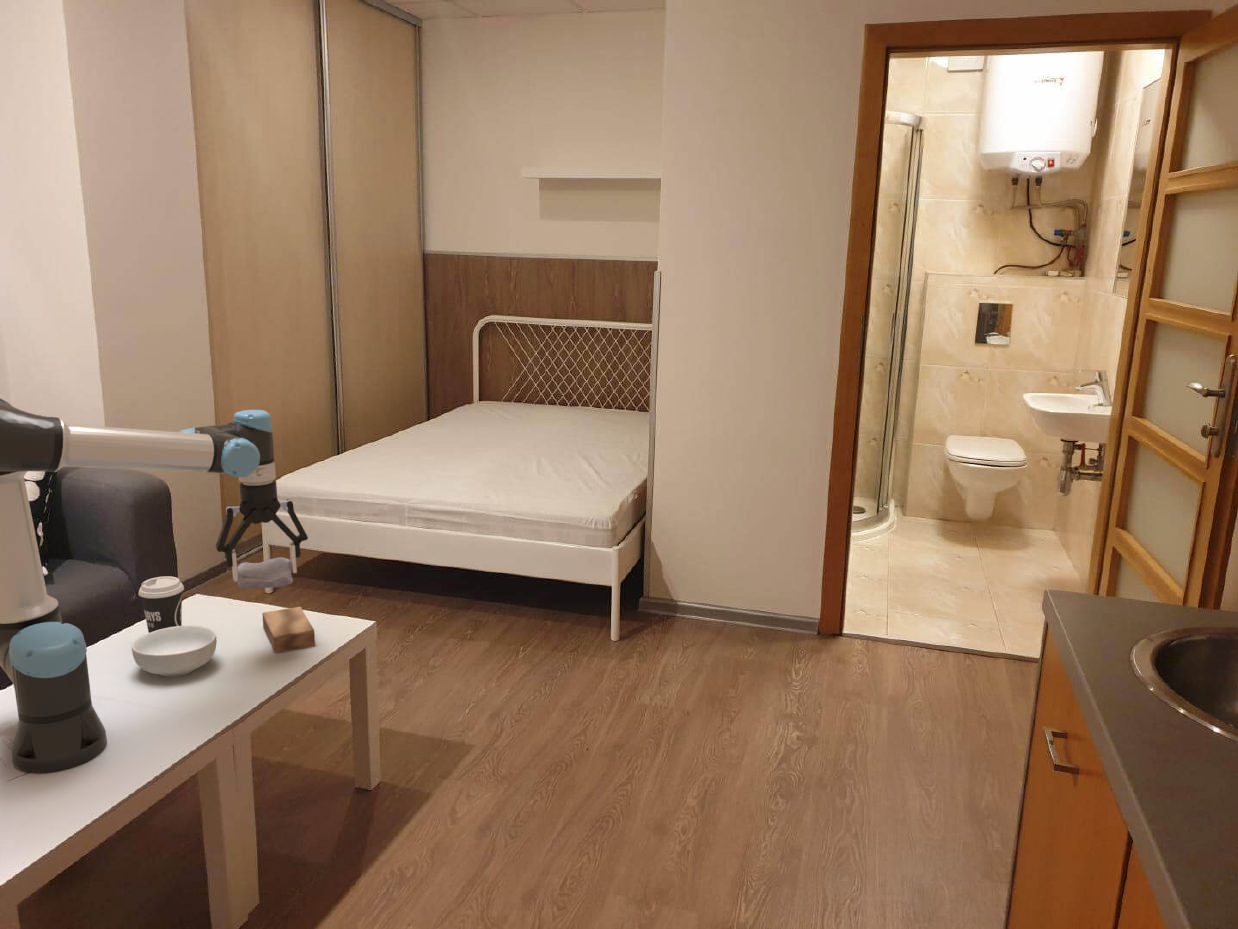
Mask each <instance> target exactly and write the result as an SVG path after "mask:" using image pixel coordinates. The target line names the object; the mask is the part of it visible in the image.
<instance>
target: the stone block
mask: <svg viewBox="0 0 1238 929" xmlns="http://www.w3.org/2000/svg"><path fill="white" fill-rule="evenodd" d="M237 573H238V581H237V582H236V583H237V586H238V588H242V589H246V588H247V589H252V588H258V589H260V588H261V589H263V588H265V589H269V588H282V587H285V586H288V585H290V584H292V583H293V581H294V579H293V577H292V576H293V575H292V570H291V559H290V558H286V557H282V556H281V557H279V556H278V557H275V558H270V559H266V560H264V561H261V562H247V561H245V562H242V563H240V564H238V565H237Z"/></svg>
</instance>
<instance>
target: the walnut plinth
mask: <svg viewBox="0 0 1238 929" xmlns="http://www.w3.org/2000/svg"><path fill="white" fill-rule="evenodd" d="M262 627H263V630H264V632H265V635H266V636H267V639H268V642H269V643H270V645H271V648H272V650H273V652H274V653H275V654H277V653H282V652H288V651H292V650H293V651H294V650H299V649H304V648H305V649H306V648H309V647H315V646H316V641H315V629H314V627H313V625H312V624H311V622H310V621H309V618H308V617H307V615H306V613H305V612H304V611H303V608H302V607H301V606H296V607H290V608H283V609H278V610H276V609H275V610H271V611H264V612H262Z"/></svg>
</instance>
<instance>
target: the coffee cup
mask: <svg viewBox="0 0 1238 929" xmlns="http://www.w3.org/2000/svg"><path fill="white" fill-rule="evenodd" d="M184 590H185V586H184V584H183V583H182V582H181V581H180V579H179V578H178V577H175V576H170V575H169V576H158V577H153V578H149V579H146V580H145V581H143V582H142V583H141V586H140V587H139V590H138V596H139V597H140V598H141V602H142V607H143V613H144V616H145V621H146V625H147V631H148V633H150V632H153V631H156V630H160V629H164V628H169V627H176V626H183V625H182V617H183V616H182V614H183V613H182V612H183V611H182V607H183V606H182V605H183V591H184Z"/></svg>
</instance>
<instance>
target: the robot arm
mask: <svg viewBox="0 0 1238 929" xmlns="http://www.w3.org/2000/svg"><path fill="white" fill-rule="evenodd" d="M273 433H274V429H273V423H272V417H271V414H270V413H269V412H268V411H267V410H263V409H246V410H244V409H243V410H241V411H240V410H239V411H236V412H235V413H234V414H233V422H230V423H224V424H215V425H206V426H197V427H196V426H192V428H186V429H180V430H179V431H167V430H154V429H153V430H152V429H151V430H150V429H140V428H127V427H111V426H102V425H101V426H99V425H87V424H86V425H83V424H71V423H66V422H65V421H64V420H63V419H62V418H61V417H57V416H45V415H39V414H35V413H31V412H28V411H24V410H21V409H19V408H17V407H16V406H15V407H14V406H13V405H12V404H10V403H9V402H8V401H7V400H4V399H2V398H0V667H1V668H2V670H3V671H4V673H5V675H7V677H8V678H9V680H10V681H11V682H12V684H13V688H14V694H15V700H16V701H15V702H16V707H17V708H16V709H17V716H18V723H17V727H16V731H15V734H14V738H13V742H12V747H11V758H12V764H13V766H14V767H15V768H16V769H18V770H20V771H23V772H26V773H33V774H34V773H36V774H37V773H39V774H40V773H50V772H58V771H62V770H66V769H69V768H74V767H77V766H80V765H82V764H84V763H86V762H88V761H90V760H92V759H93V758H95V757H97V755H100V753H101V752H103V751H104V749H105V747H106V746H107V743H108V739H107V731H106V727H105V726H104V724H103V722H102V721H101V718H100V717H99V715H98V714H97V712H96V710H95V708H94V707H93V704H92V692H91V685H90V684H91V683H90V675H89V668H88V658H87V651H88V650H87V648H88V647H87V644H86V641H85V638H84V634H83V632H82V631H81V629H80V628H78V627H77V626H76V625H73V624H72V623H67V622H64V623H63V621H62V620H63V619H62V616H61V611H60V606H59V601H58V600H57V599H56V598H55V597H52V596H51V595H48V593H47V587H46V582H45V577H44V573H43V568H42V562H41V557H40V552H39V547H38V542H37V536H36V530H35V525H34V521H33V516H32V511H31V510H32V509H31V506H30V501H29V496H28V491H27V486H26V480H25V475H26V474H27V473H28V472H43V473H44V472H45V473H46V472H47V473H48V472H49V473H50V472H51V473H56V472H58V471H59V470H61V469H62V468H65V467H67V468H68V467H70V468H71V467H72V468H92V469H93V468H94V469H114V470H117V469H118V470H119V469H120V470H141V471H144V470H146V471H165V472H166V471H168V472H187V473H188V472H189V473H190V472H193V473H210V474H226V475H228V476H230V477H233V478H238V480H239V482H240V484H239V495H240V496H239V497H240V504H239V505H238V506H231V505H226V506H225V518H224V520H223V523H222V526H221V530H220V532H219V536H218V538H217V541H216V544H215V548H216V551H217V552H220V553H221V552H222V553H225V561H226V562H225V564H226V565H227V567H228V568H230V567H231V569H232V578H233V581H234V583H235V582H236V583H237V581H238V573H237V567H238V563H237V552H236V550H235V548H236V546H237V544H238V543H239V542H240V540H241V538H242V537H243V535H244V533H245V532H246V530H247V529H249V527H250V526H251V525H252V524H253V525H257V524H260V523H265V524H267V523H270V522H271V521H272V522H274V524H275V525H276V526H277V527H278V528H279V529H280V530H281V531H282V532H283V533H284V534H285V535H286V536H287V537H288V538H289V539H290V542H289V545H288V546H289V555H290V556H289V560H290V561H291V573H293V574H297V572H298V569H297V558H300V557H301V546H300V545H301V543H302V542H304V541H308V539H309V536H308V534H307V532H306V531H305V529H304V528H303V526H302V524H301V522H300V520H299V518H298V516H297V514H296V512H295V510H294V509H295V507H294V502H293V501H292V500H291V499H290V498H287V499H285V500H283V501H279V499H278V489H277V488H278V486H277V481H276V480H275V479H276V478H277V477H276V476H277V475H276V474H277V473H276V465H275V464H276V463H275V455H274V454H275V453H274V434H273ZM281 508H282V509H283V510H284V511H286V512H287V514H288V516H289V517H290V519H291V521H292V523H293V524H294V525H293V526H295V529H296V531H297V532H298V535H296V534H295V532H293V531H292V530H291V529H290V528H289V527H288V525H287V524H285V523H284V521H283V520H282V519H281V518H280V517H279V516H278V514H277V513H278V511H279V510H280V509H281ZM238 513H241V514H242V515H243V518H242V519H241V521H240V523H239V524H238V526H237V528H236V529H235V531H234V532H233V534H232V536H231V537H230V538H229V540H228V542H227V539H228V535H229V533H230V530H231V528H232V525H233V522H234V518H235V517H236V516H237V515H238ZM226 542H227V543H226Z"/></svg>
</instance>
